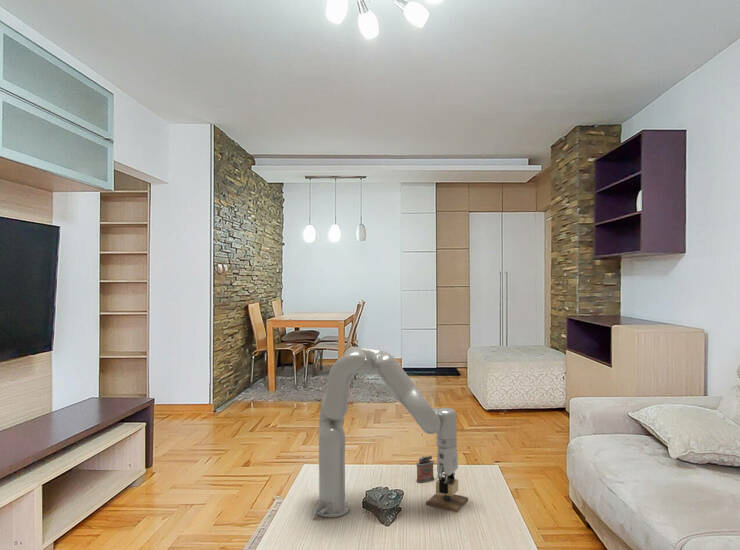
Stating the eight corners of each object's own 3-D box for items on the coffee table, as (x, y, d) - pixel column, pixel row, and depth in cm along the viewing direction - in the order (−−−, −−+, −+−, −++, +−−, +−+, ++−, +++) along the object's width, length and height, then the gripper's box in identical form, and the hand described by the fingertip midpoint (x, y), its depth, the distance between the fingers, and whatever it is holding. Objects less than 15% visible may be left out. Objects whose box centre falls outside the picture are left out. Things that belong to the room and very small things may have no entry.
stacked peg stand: (456, 512, 179) (456, 486, 179) (426, 505, 185) (425, 479, 185) (467, 500, 189) (467, 475, 189) (438, 493, 195) (438, 469, 195)
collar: (451, 496, 183) (451, 485, 183) (435, 492, 186) (435, 482, 186) (458, 490, 188) (458, 479, 188) (442, 486, 191) (442, 476, 191)
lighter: (419, 483, 205) (419, 459, 205) (415, 480, 208) (414, 456, 208) (435, 480, 208) (435, 456, 209) (430, 477, 211) (430, 453, 212)
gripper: (447, 450, 178) (447, 500, 178) (464, 437, 193) (464, 483, 192) (428, 446, 182) (428, 495, 182) (446, 434, 197) (446, 479, 196)
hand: (447, 489), depth 187 cm, fingers closed on collar, 6 cm apart
